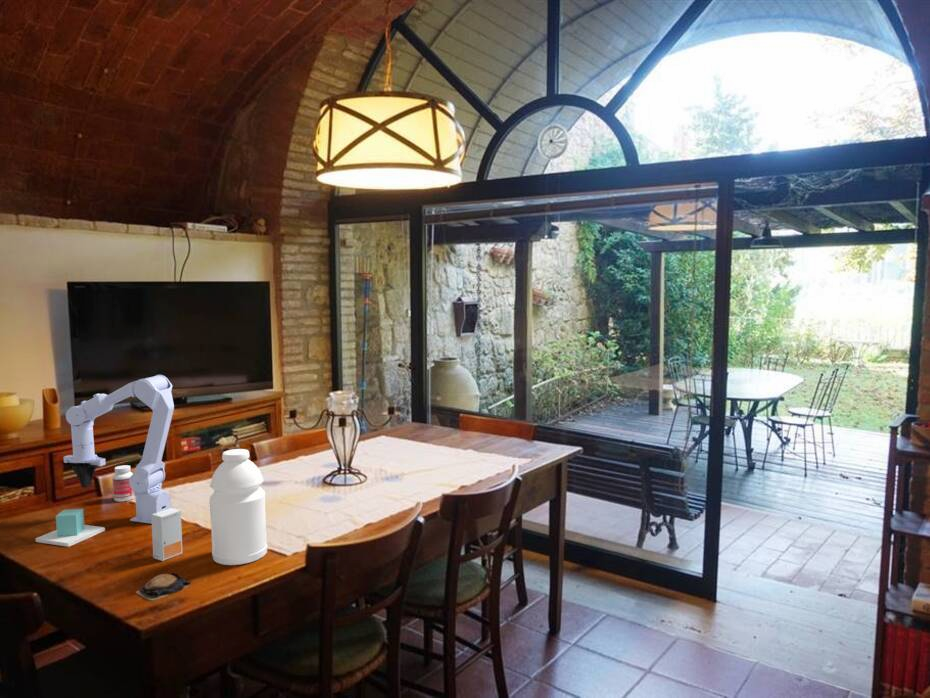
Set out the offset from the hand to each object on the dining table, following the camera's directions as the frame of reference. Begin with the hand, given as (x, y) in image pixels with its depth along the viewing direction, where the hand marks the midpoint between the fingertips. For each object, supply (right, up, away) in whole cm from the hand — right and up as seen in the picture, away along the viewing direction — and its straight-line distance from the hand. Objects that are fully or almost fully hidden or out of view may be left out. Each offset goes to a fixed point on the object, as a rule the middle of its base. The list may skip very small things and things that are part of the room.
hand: (86, 486), depth 200 cm
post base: (+4, -11, -15) cm, 19 cm away
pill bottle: (+3, -8, +17) cm, 19 cm away
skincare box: (+39, -12, -29) cm, 50 cm away
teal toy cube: (+4, -10, -15) cm, 18 cm away
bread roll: (+46, -15, -47) cm, 68 cm away
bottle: (+58, -12, -29) cm, 66 cm away
